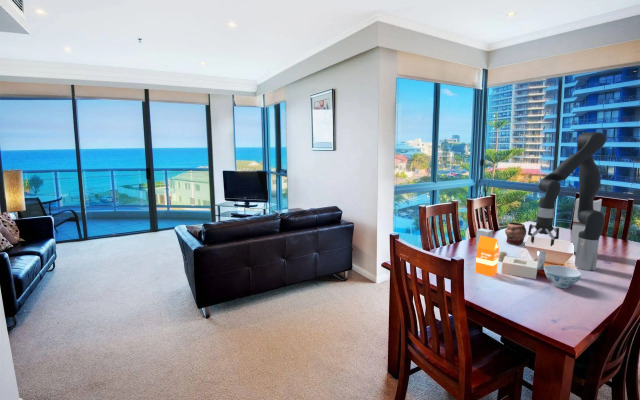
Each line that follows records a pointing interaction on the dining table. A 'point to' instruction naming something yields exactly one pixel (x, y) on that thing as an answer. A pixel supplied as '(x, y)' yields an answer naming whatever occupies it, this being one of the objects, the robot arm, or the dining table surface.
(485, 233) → the skincare box
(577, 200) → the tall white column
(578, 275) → the chinaware
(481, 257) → the orange juice
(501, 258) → the short pin
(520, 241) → the decorative planter
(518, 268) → the hole block
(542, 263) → the long pin
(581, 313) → the dining table surface
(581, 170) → the robot arm
